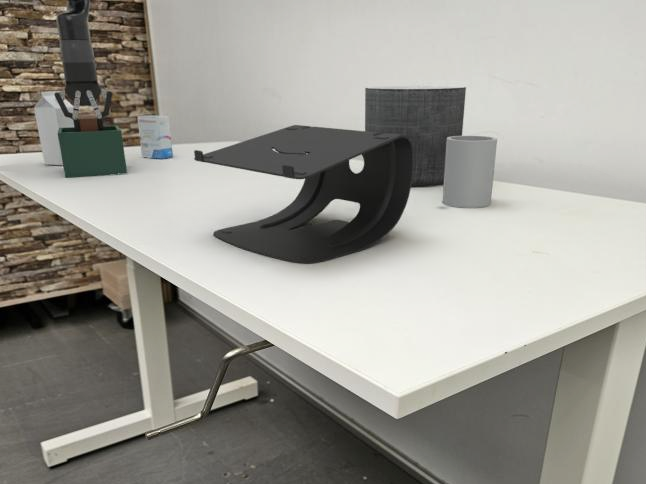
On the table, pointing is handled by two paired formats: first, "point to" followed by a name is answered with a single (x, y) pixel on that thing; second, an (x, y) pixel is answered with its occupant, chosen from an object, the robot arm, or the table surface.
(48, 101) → the milk carton
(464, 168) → the cup
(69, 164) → the bin
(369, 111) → the planter
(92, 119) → the brown rectangular block
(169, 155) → the ink box
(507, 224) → the table surface
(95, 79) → the robot arm
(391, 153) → the laptop stand
